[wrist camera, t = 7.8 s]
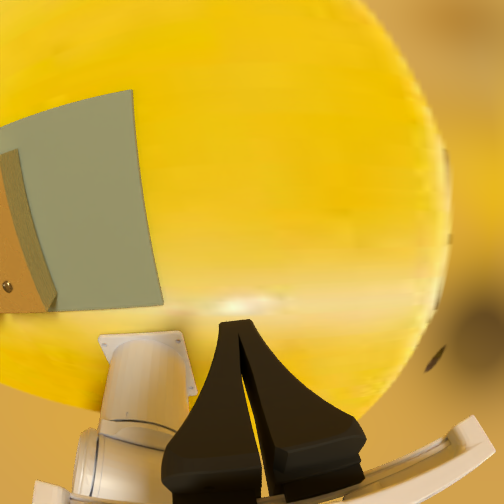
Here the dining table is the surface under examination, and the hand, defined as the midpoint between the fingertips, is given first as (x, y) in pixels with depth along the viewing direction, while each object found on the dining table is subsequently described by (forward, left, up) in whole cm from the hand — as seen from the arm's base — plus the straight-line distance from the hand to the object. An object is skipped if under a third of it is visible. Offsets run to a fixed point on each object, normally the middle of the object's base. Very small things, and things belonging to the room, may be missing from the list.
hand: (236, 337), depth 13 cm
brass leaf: (+3, +19, -9) cm, 22 cm away
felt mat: (+3, +19, -10) cm, 21 cm away
